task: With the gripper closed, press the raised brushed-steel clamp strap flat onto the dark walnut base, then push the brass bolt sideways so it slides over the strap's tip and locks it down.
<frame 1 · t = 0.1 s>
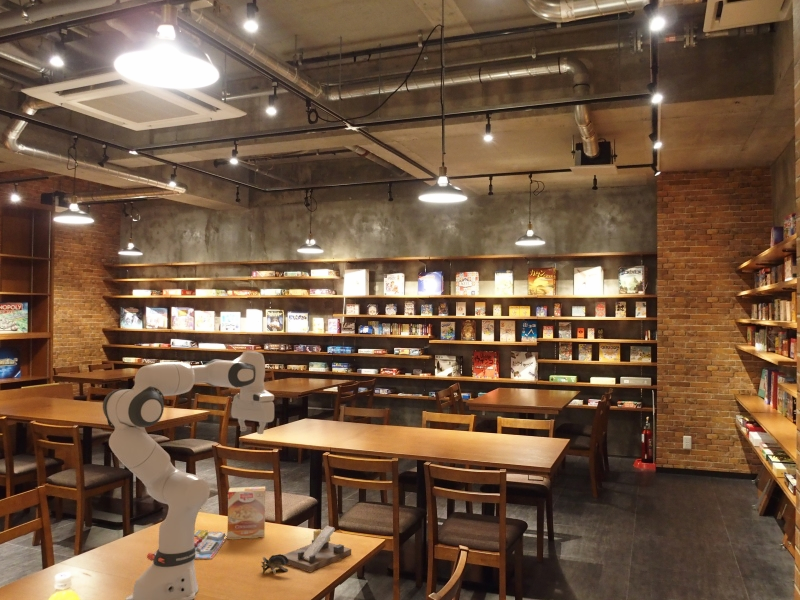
hand: (251, 432, 232), 48 cm above the table, tool pointing down, fingers open, 8 cm apart
brass bolt: (321, 536, 243), point 6 cm above the table, slide at 0.0 cm
clamp strap: (318, 543, 233), point 7 cm above the table, hinge at 32.0°
coffeecake box: (246, 536, 260), on the table
puzzle board: (193, 547, 249), on the table
eagle figurine: (274, 573, 223), on the table
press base: (315, 557, 236), on the table
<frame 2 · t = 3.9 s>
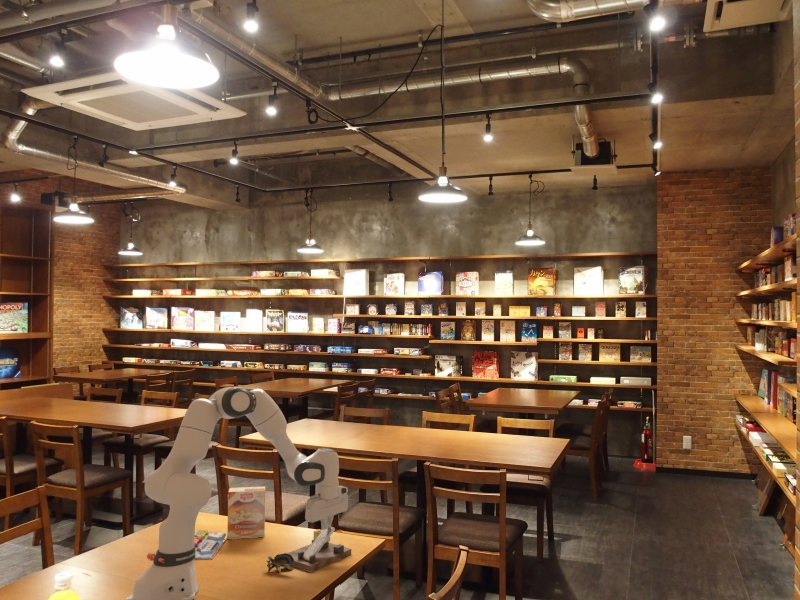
hand: (326, 528, 237), 11 cm above the table, tool pointing down, fingers closed
clamp strap: (318, 543, 233), point 7 cm above the table, hinge at 32.0°, touching gripper
eagle figurine: (279, 571, 224), on the table
everything else where it was.
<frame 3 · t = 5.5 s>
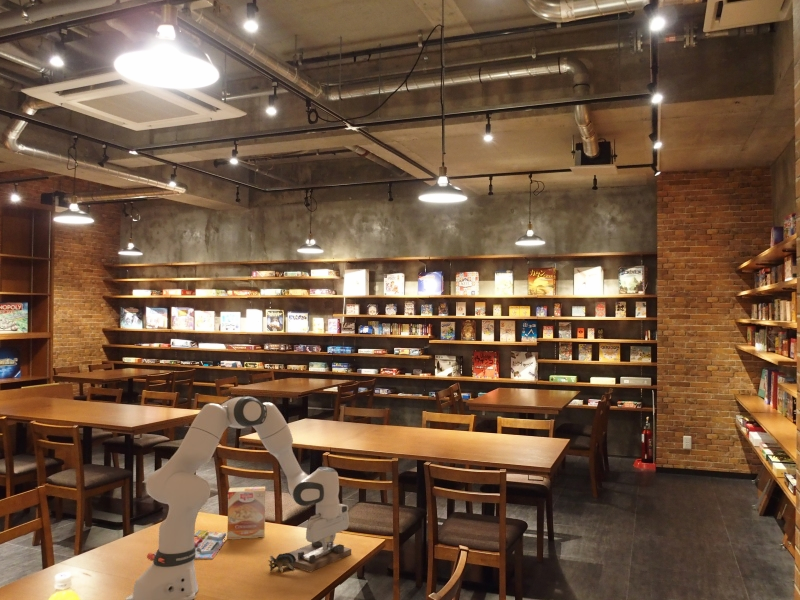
hand: (327, 547, 237), 4 cm above the table, tool pointing down, fingers closed on clamp strap
clamp strap: (320, 552, 234), point 3 cm above the table, hinge at 2.2°, touching gripper
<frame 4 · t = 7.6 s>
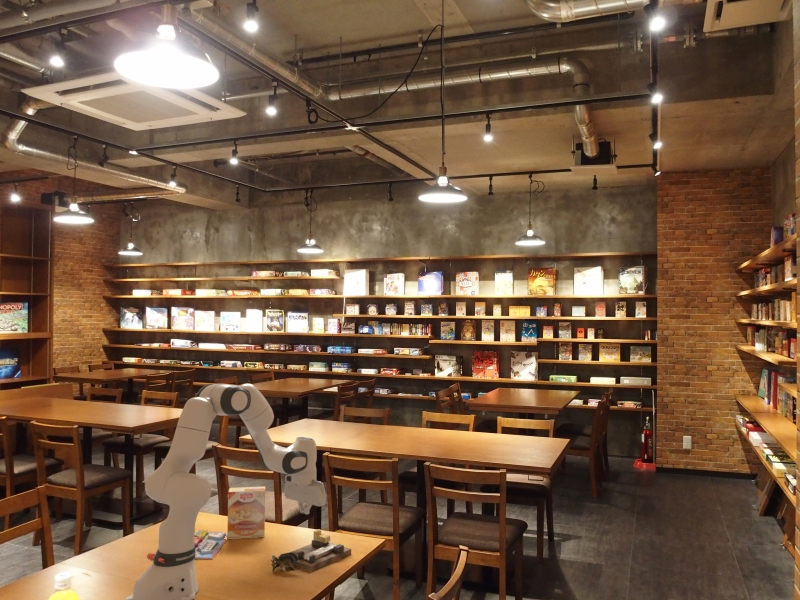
hand: (304, 513, 248), 13 cm above the table, tool pointing down, fingers closed
clamp strap: (320, 552, 234), point 3 cm above the table, hinge at 1.6°
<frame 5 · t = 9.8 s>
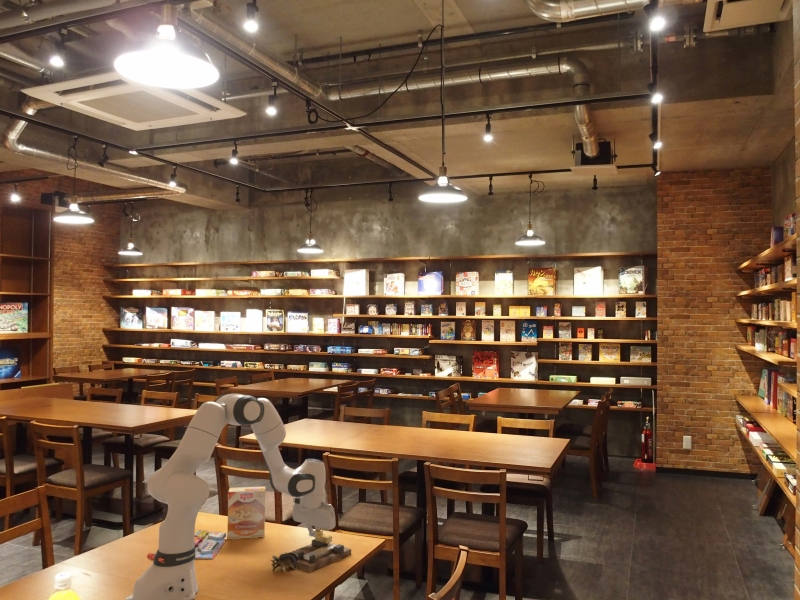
hand: (313, 536, 245), 5 cm above the table, tool pointing down, fingers closed
brass bolt: (323, 536, 242), point 6 cm above the table, slide at 0.9 cm, touching gripper
eagle figurine: (284, 571, 224), on the table, touching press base
everything else where it was.
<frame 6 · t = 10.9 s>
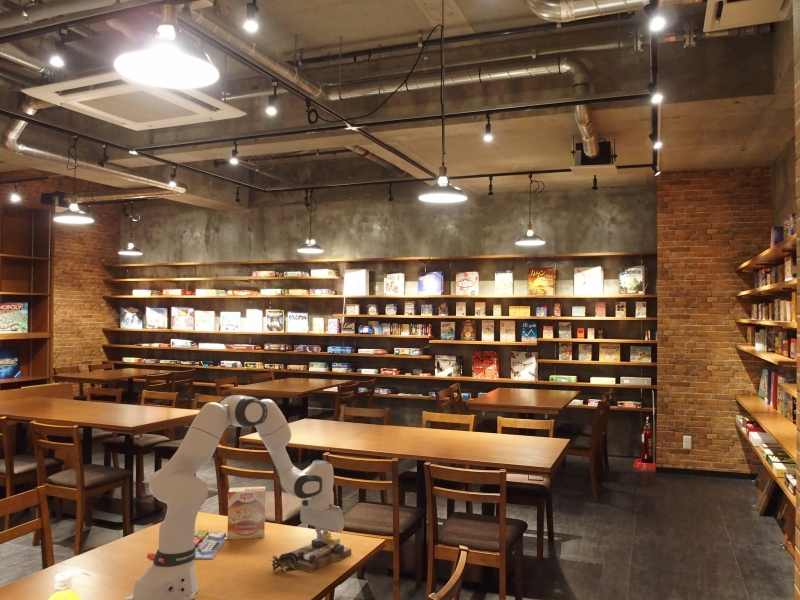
hand: (321, 538, 243), 5 cm above the table, tool pointing down, fingers closed
brass bolt: (331, 538, 240), point 6 cm above the table, slide at 5.0 cm, touching gripper
eagle figurine: (284, 571, 224), on the table
everything else where it was.
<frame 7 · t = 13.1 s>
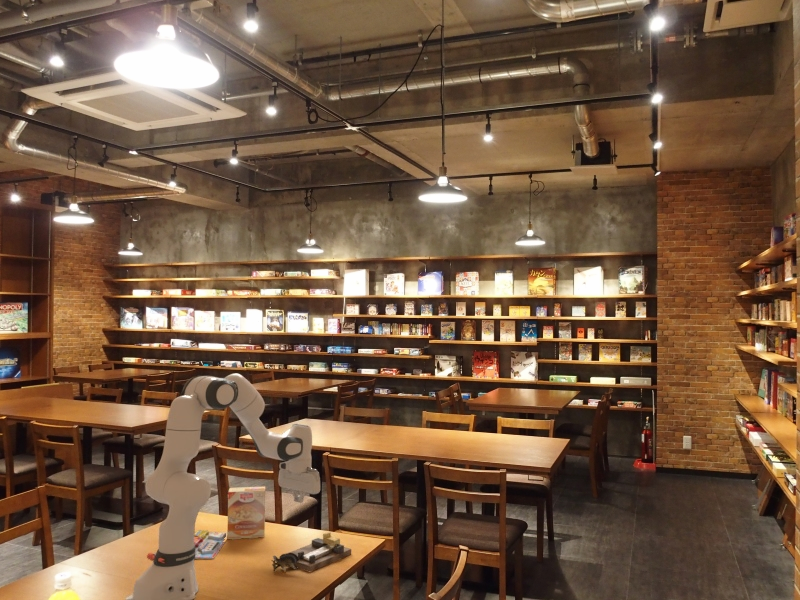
hand: (298, 501, 244), 19 cm above the table, tool pointing down, fingers closed
brass bolt: (331, 538, 240), point 6 cm above the table, slide at 5.0 cm
everything else where it was.
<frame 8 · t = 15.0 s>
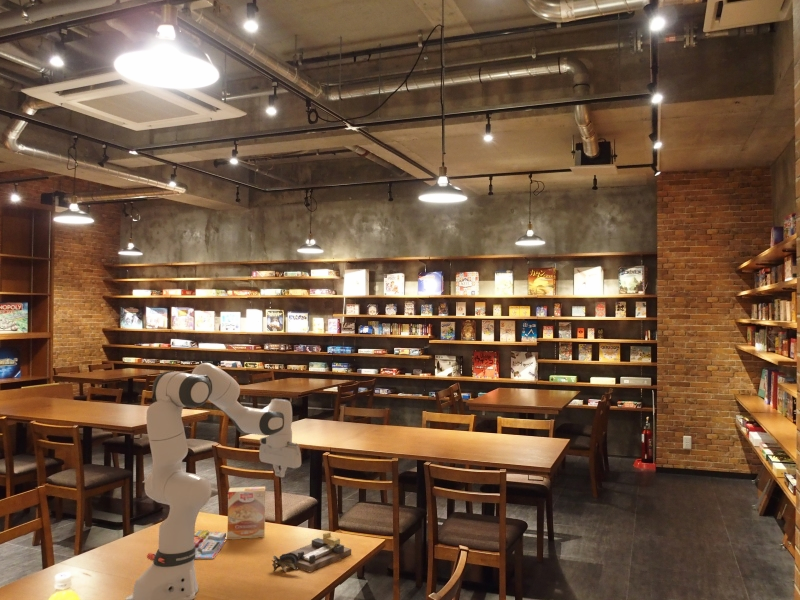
hand: (279, 476, 243), 29 cm above the table, tool pointing down, fingers closed
nothing on the table moved.
at the end: clamp strap at +2° (first picture: +32°); brass bolt slide at 5.0 cm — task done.
